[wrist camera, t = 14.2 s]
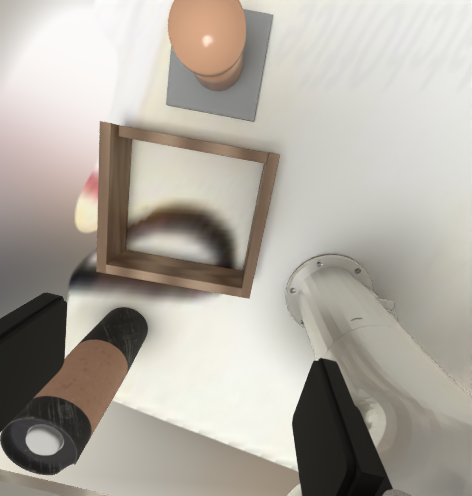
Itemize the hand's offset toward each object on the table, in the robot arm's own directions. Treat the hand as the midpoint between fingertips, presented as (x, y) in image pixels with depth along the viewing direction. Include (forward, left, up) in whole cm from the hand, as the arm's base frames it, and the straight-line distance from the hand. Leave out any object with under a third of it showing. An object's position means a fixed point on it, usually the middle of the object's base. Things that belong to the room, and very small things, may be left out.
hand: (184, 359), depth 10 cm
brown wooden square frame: (+6, +1, -30) cm, 31 cm away
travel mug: (+14, +22, -30) cm, 40 cm away
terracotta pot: (+5, -17, -29) cm, 34 cm away
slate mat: (+5, -17, -30) cm, 35 cm away
